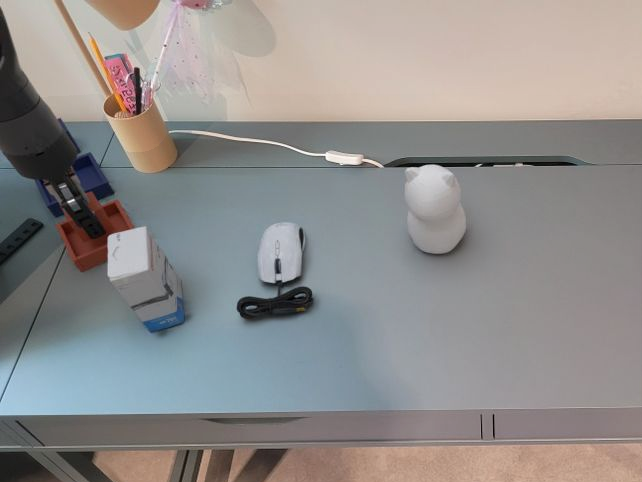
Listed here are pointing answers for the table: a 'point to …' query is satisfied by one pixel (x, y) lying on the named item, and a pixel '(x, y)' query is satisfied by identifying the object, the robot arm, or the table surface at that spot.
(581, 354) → the table surface
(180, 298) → the ink box
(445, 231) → the cat figurine
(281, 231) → the computer mouse
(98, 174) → the navy tray
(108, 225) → the terracotta block
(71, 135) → the navy block
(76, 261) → the terracotta tray
